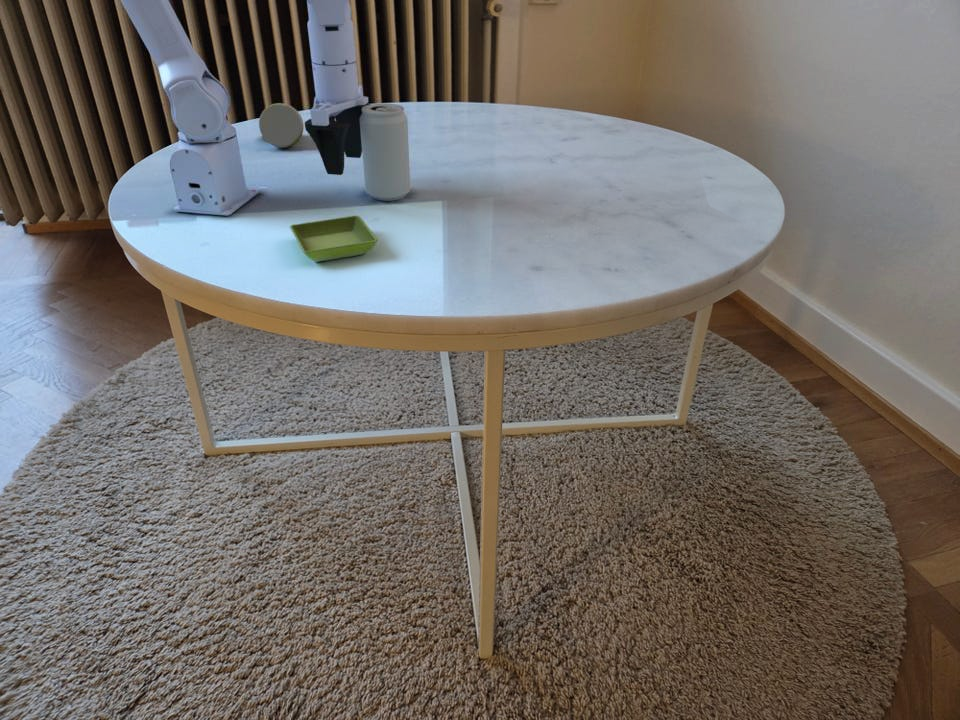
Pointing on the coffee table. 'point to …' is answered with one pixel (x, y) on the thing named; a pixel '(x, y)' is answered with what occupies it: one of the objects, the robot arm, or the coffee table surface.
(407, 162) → the beverage can
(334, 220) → the green tray
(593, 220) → the coffee table surface
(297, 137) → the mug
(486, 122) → the coffee table surface
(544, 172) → the coffee table surface
